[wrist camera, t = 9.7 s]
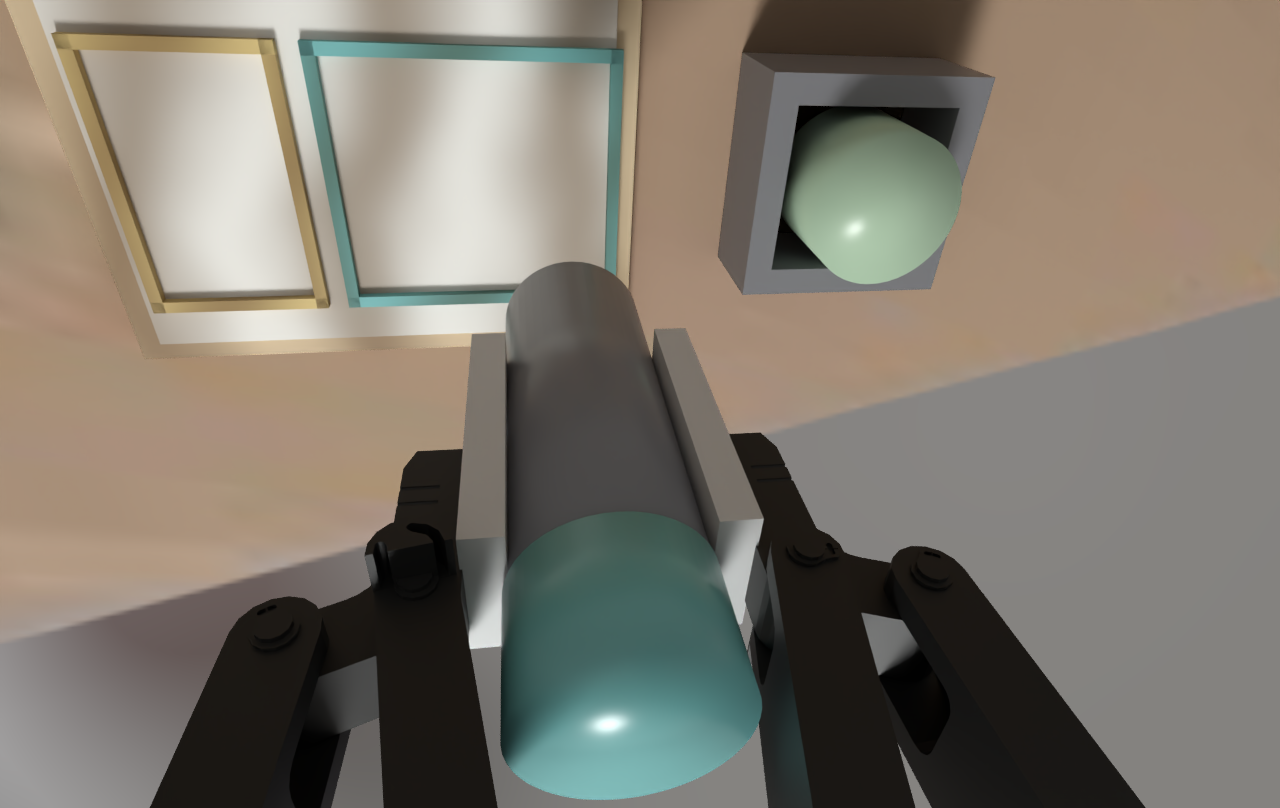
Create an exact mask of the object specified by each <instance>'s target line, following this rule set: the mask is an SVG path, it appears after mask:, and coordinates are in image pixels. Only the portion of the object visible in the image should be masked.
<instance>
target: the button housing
mask: <svg viewBox="0 0 1280 808" xmlns="http://www.w3.org/2000/svg"><path fill="white" fill-rule="evenodd" d="M994 80H995V77H992V76H989V75H986V74H984V73H981V72H978V71H975V70H972V69H969V68H966V67H964V66H961V65H958V64H955V63H952V62H949V61H946V60H944V59H941V58H910V57H876V56H843V55H810V54H776V53H743V52H742V60H741V68H740V77H739V85H738V93H737V101H736V110H735V118H734V126H733V135H732V143H731V151H730V159H729V168H728V176H727V184H726V193H725V201H724V209H723V217H722V226H721V234H720V242H719V251H718V257H719V259H720V261H721V262H722V264H723V265H724V267H725V268H726V270H727V271H728V273H729V274H730V276H731V278H732V279H733V281H734V282H735V284H736V285H737V287H738V288H739V290H740V291H741V293H742V295H748V294H781V293H815V292H849V291H882V290H916V289H931V286H932V283H933V280H934V276H935V273H936V270H937V266H938V263H939V260H940V257H941V253H942V250H943V247H944V244H945V240H946V238H945V240H944V241H943V242H942V244H941V245H940V246H939V248H938V249H937V250H936V251H935V252H934V253H933V254H932V255H931V256H930V257H929V258H928V259H927V260H926V261H925V262H923V263H922V264H921V265H919V266H918V267H917V268H915V269H914V270H912V271H910V272H909V273H907V274H905V275H903V276H901V277H899V278H896V279H893V280H890V281H887V282H882V283H877V284H859V283H853V282H850V281H847V280H844V279H842V278H840V277H838V276H837V275H835V274H834V273H833V272H831V271H830V270H829V269H828V268H827V267H826V266H825V265H824V264H823V263H822V261H821V260H820V259H819V258H818V257H817V256H816V255H815V254H814V253H813V252H812V251H811V250H810V248H809V247H808V246H807V245H806V244H805V243H804V242H803V241H802V240H801V239H800V238H799V237H798V235H797V234H796V233H778V227H779V222H780V216H781V210H782V204H783V198H784V192H785V186H786V180H787V174H788V168H789V162H790V156H791V150H792V144H793V138H794V132H795V126H796V120H797V114H798V108H799V105H807V106H865V107H904V111H903V115H902V119H901V121H902V122H904V123H905V124H907V125H909V126H911V127H913V128H915V129H917V130H918V131H920V132H922V133H924V134H926V135H928V136H930V137H932V138H933V139H935V140H937V141H938V142H940V143H941V144H943V145H944V146H945V147H946V148H947V149H948V150H949V152H950V153H951V154H952V156H953V157H954V159H955V161H956V163H957V165H958V168H959V172H960V176H961V183H962V185H963V182H964V178H965V175H966V172H967V169H968V165H969V162H970V159H971V156H972V152H973V149H974V146H975V142H976V139H977V136H978V133H979V129H980V126H981V123H982V120H983V116H984V113H985V110H986V107H987V103H988V100H989V97H990V94H991V90H992V87H993V84H994ZM946 237H947V236H946Z"/></svg>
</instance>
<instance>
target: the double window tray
mask: <svg viewBox="0 0 1280 808" xmlns="http://www.w3.org/2000/svg"><path fill="white" fill-rule="evenodd" d="M5 3H6V5H7V8H8V10H9V13H10V15H11V18H12V21H13V23H14V26H15V28H16V31H17V33H18V36H19V38H20V41H21V44H22V46H23V49H24V51H25V54H26V56H27V59H28V62H29V64H30V67H31V69H32V72H33V74H34V77H35V79H36V82H37V85H38V87H39V90H40V92H41V95H42V97H43V100H44V102H45V105H46V108H47V110H48V113H49V115H50V118H51V120H52V123H53V126H54V128H55V131H56V133H57V136H58V138H59V141H60V143H61V146H62V149H63V151H64V154H65V156H66V159H67V161H68V164H69V166H70V169H71V172H72V174H73V177H74V179H75V182H76V184H77V187H78V190H79V192H80V195H81V197H82V200H83V202H84V205H85V207H86V210H87V213H88V215H89V218H90V220H91V223H92V225H93V228H94V231H95V233H96V236H97V238H98V241H99V243H100V246H101V248H102V251H103V254H104V256H105V259H106V261H107V264H108V266H109V269H110V271H111V274H112V277H113V279H114V282H115V284H116V287H117V289H118V292H119V295H120V297H121V300H122V302H123V305H124V307H125V310H126V312H127V315H128V318H129V320H130V323H131V325H132V328H133V330H134V333H135V335H136V338H137V341H138V343H139V346H140V348H141V351H142V353H143V356H144V359H161V358H186V357H211V356H237V355H262V354H287V353H312V352H337V351H362V350H387V349H412V348H437V347H463V346H471V338H472V334H487V333H505V329H506V311H507V307H508V304H509V301H510V299H511V297H512V295H513V293H514V292H515V290H516V289H517V287H518V286H519V285H520V284H521V283H522V282H523V281H524V280H525V279H526V278H527V277H529V276H530V275H531V274H533V273H534V272H536V271H537V270H539V269H542V268H544V267H546V266H549V265H552V264H556V263H561V262H572V261H574V262H585V263H590V264H593V265H597V266H599V267H602V268H604V269H606V270H608V271H609V272H611V273H612V274H614V275H615V276H616V277H617V278H619V279H620V280H621V281H622V282H623V283H624V285H625V286H626V287H627V289H628V287H629V265H630V244H631V223H632V202H633V181H634V160H635V139H636V118H637V97H638V76H639V55H640V34H641V13H642V0H5Z"/></svg>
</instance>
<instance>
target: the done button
mask: <svg viewBox="0 0 1280 808" xmlns="http://www.w3.org/2000/svg"><path fill="white" fill-rule="evenodd" d="M961 194H962V183H961V176H960V172H959V168H958V165H957V163H956V161H955V159H954V157H953V156H952V154H951V153H950V152H949V150H948V149H947V148H946V147H945V146H944V145H943V144H941V143H940V142H938V141H937V140H935V139H933V138H932V137H930V136H928V135H926V134H924V133H922V132H920V131H918V130H917V129H915V128H913V127H911V126H909V125H907V124H905V123H904V122H902V121H900V120H898V119H896V118H894V117H892V116H890V115H889V114H887V113H885V112H883V111H881V110H879V109H877V108H874V107H865V106H837V107H834V108H831V109H828V110H826V111H824V112H822V113H820V114H818V115H817V116H815V117H814V118H812V119H811V120H810V121H808V122H807V123H806V124H805V125H804V126H803V127H802V128H801V129H800V130H799V131H798V132H797V133H796V134H795V135H794V138H793V144H792V150H791V156H790V162H789V168H788V174H787V180H786V186H785V192H784V198H783V204H782V210H781V216H782V218H783V219H784V221H785V222H786V224H787V225H788V226H789V227H790V228H791V229H792V230H793V231H794V232H795V233H796V234H797V235H798V237H799V238H800V239H801V240H802V241H803V242H804V243H805V244H806V245H807V246H808V247H809V248H810V250H811V251H812V252H813V253H814V254H815V255H816V256H817V257H818V258H819V259H820V260H821V261H822V263H823V264H824V265H825V266H826V267H827V268H828V269H829V270H830V271H831V272H833V273H834V274H835V275H837V276H838V277H840V278H842V279H844V280H847V281H850V282H853V283H859V284H877V283H882V282H887V281H890V280H893V279H896V278H899V277H901V276H903V275H905V274H907V273H909V272H910V271H912V270H914V269H915V268H917V267H918V266H919V265H921V264H922V263H923V262H925V261H926V260H927V259H928V258H929V257H930V256H931V255H932V254H933V253H934V252H935V251H936V250H937V249H938V248H939V246H940V245H941V244H942V242H943V241H944V240H945V238H946V236H947V235H948V233H949V232H950V230H951V228H952V226H953V224H954V222H955V219H956V216H957V214H958V210H959V206H960V202H961Z"/></svg>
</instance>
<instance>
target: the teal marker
mask: <svg viewBox="0 0 1280 808" xmlns="http://www.w3.org/2000/svg"><path fill="white" fill-rule="evenodd" d="M505 337H506V353H507V575H506V578H505V580H504V584H503V588H502V614H501V750H502V755H503V757H504V759H505V761H506V763H507V765H508V766H509V767H510V768H511V770H512V771H513V772H514V773H515V774H516V775H517V776H518V777H519V778H521V779H522V780H524V781H525V782H527V783H528V784H530V785H532V786H534V787H536V788H538V789H540V790H543V791H546V792H549V793H552V794H556V795H560V796H565V797H571V798H578V799H590V800H592V799H593V800H612V799H623V798H631V797H638V796H644V795H648V794H653V793H657V792H661V791H665V790H668V789H671V788H674V787H677V786H680V785H683V784H685V783H688V782H690V781H692V780H695V779H697V778H699V777H701V776H703V775H705V774H707V773H709V772H711V771H712V770H714V769H716V768H717V767H719V766H720V765H721V764H723V763H725V762H726V761H727V760H729V759H730V758H731V757H732V756H734V755H735V754H736V753H737V752H738V751H739V750H740V749H741V748H742V747H743V746H744V745H745V744H746V742H747V741H748V740H749V739H750V738H751V736H752V735H753V733H754V731H755V730H756V727H757V726H758V723H759V720H760V718H761V712H762V698H761V695H760V691H759V688H758V685H757V682H756V679H755V676H754V672H753V669H752V666H751V663H750V660H749V657H748V653H747V650H746V647H745V644H744V641H743V638H742V635H741V631H740V628H739V625H738V622H737V619H736V616H735V612H734V609H733V606H732V603H731V600H730V597H729V594H728V590H727V587H726V584H725V581H724V578H723V575H722V572H721V568H720V565H719V562H718V559H717V556H716V554H715V552H714V550H713V548H712V547H711V545H710V543H709V540H708V537H707V534H706V531H705V527H704V524H703V521H702V518H701V515H700V511H699V508H698V505H697V502H696V499H695V495H694V492H693V489H692V486H691V483H690V479H689V476H688V473H687V470H686V467H685V463H684V460H683V457H682V454H681V451H680V447H679V444H678V441H677V438H676V435H675V431H674V428H673V425H672V422H671V419H670V415H669V412H668V409H667V406H666V403H665V399H664V396H663V393H662V390H661V387H660V383H659V380H658V377H657V374H656V371H655V367H654V364H653V361H652V358H651V355H650V351H649V348H648V345H647V342H646V339H645V335H644V332H643V329H642V326H641V323H640V319H639V316H638V313H637V310H636V307H635V303H634V300H633V298H632V296H631V294H630V292H629V290H628V289H627V287H626V286H625V285H624V283H623V282H622V281H621V280H620V279H619V278H617V277H616V276H615V275H614V274H612V273H611V272H609V271H608V270H606V269H604V268H602V267H599V266H597V265H593V264H590V263H585V262H574V261H572V262H561V263H556V264H552V265H549V266H546V267H544V268H542V269H539V270H537V271H536V272H534V273H533V274H531V275H530V276H529V277H527V278H526V279H525V280H524V281H523V282H522V283H521V284H520V285H519V286H518V287H517V289H516V290H515V292H514V293H513V295H512V297H511V299H510V301H509V304H508V307H507V311H506V329H505Z"/></svg>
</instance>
